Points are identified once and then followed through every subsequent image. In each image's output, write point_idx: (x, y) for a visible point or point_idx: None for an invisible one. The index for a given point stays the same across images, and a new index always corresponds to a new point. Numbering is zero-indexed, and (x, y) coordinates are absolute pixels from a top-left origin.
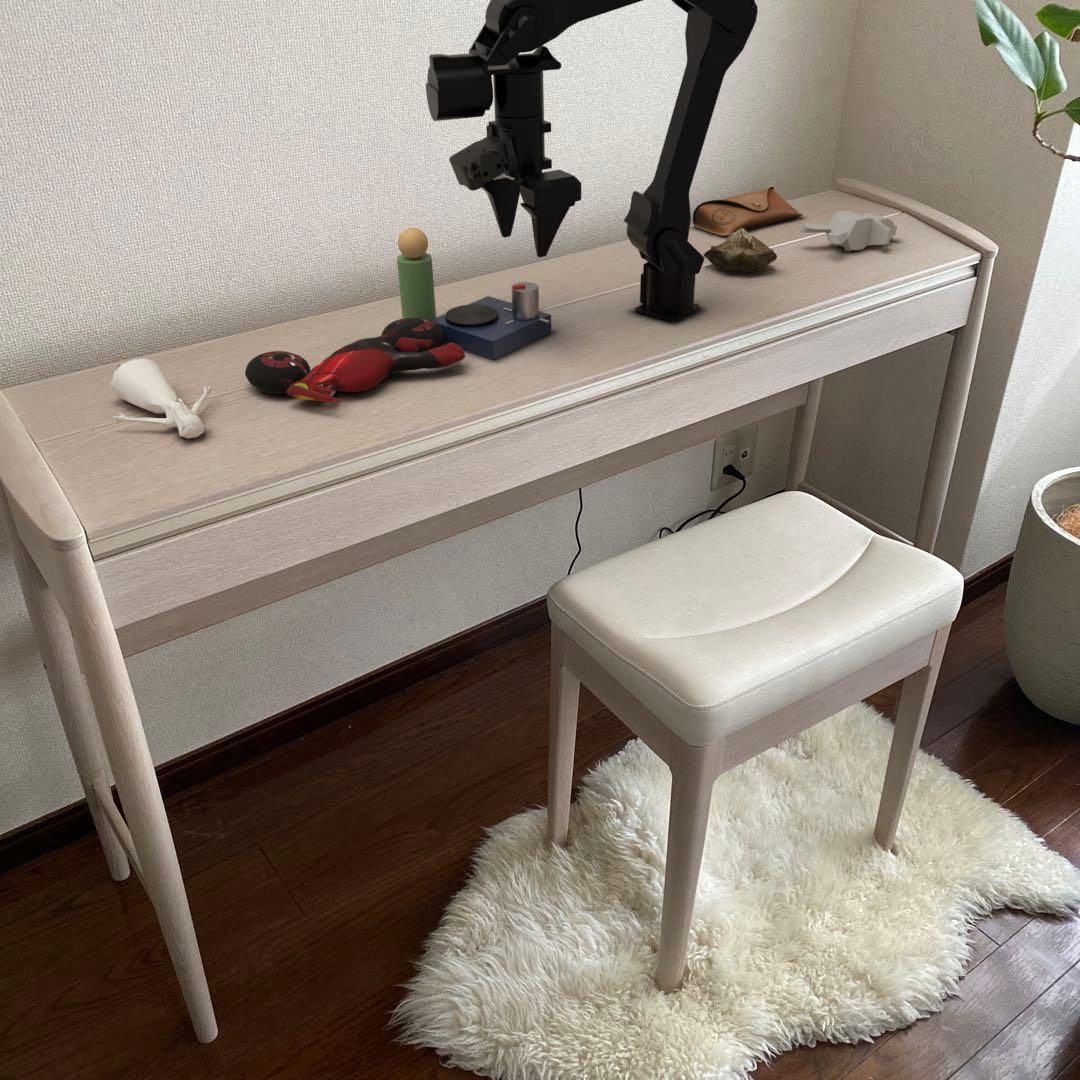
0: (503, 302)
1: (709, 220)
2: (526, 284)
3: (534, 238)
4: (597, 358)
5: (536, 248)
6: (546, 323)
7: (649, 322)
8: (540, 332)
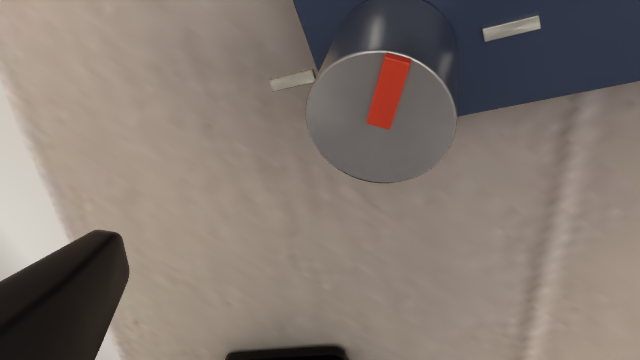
0: (614, 67)
1: None
2: (401, 144)
3: (4, 317)
4: (93, 91)
5: (64, 264)
6: None
7: (264, 327)
8: None
